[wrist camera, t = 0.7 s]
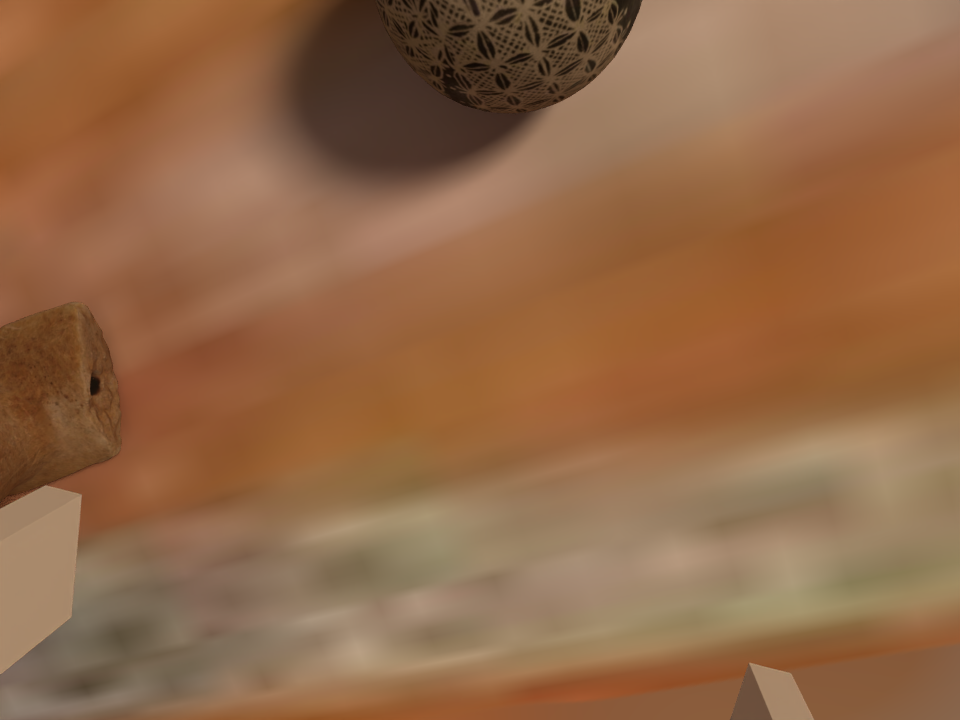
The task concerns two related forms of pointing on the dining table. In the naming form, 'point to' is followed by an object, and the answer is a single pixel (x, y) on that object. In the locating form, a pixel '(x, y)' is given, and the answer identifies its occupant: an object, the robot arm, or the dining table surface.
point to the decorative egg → (508, 46)
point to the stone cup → (55, 398)
